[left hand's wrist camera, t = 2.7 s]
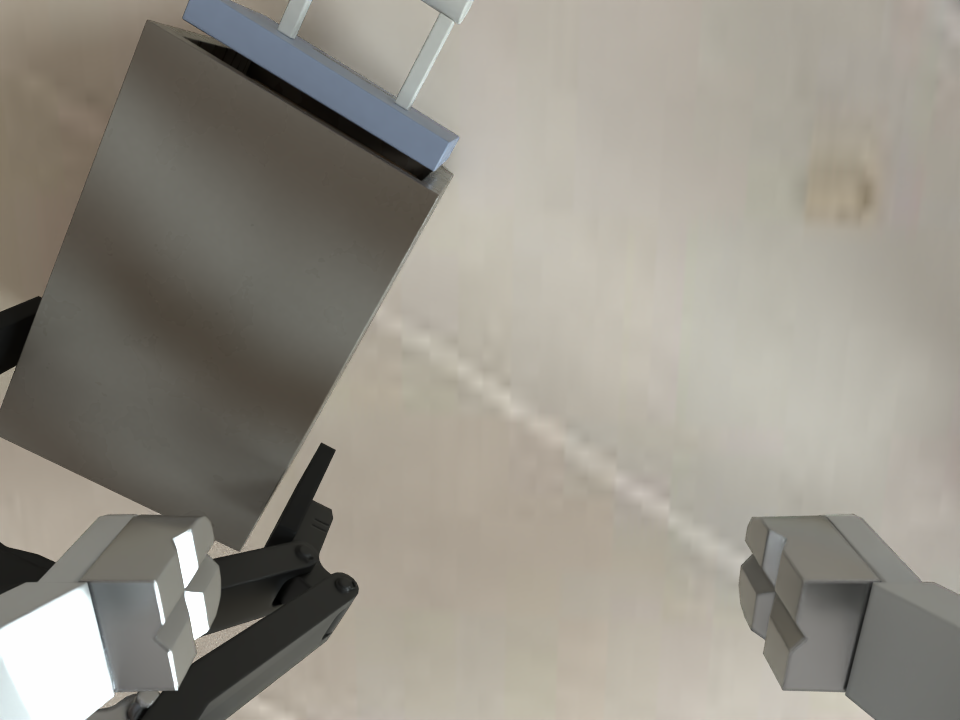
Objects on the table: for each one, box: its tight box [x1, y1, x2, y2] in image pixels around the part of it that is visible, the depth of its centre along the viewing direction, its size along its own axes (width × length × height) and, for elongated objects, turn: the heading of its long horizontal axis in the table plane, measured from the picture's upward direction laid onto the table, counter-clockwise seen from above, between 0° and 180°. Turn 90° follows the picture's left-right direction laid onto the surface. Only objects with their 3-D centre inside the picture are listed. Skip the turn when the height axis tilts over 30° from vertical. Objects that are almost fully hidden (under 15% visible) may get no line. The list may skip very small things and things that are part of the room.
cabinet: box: [0, 20, 453, 552], centre depth 30 cm, size 18×11×9 cm, turn 149°
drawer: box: [183, 0, 474, 179], centre depth 29 cm, size 22×10×8 cm, turn 149°
